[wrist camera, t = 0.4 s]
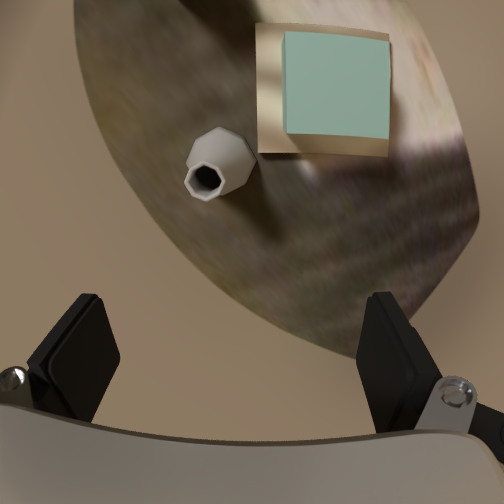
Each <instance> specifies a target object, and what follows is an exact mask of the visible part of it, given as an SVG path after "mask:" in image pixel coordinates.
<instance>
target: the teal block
mask: <svg viewBox="0 0 504 504" xmlns="http://www.w3.org/2000/svg"><path fill="white" fill-rule="evenodd" d="M281 59H282V129H283V130H284V131H285V132H286V133H291V134H325V135H344V136H359V137H372V138H383V139H389V113H390V60H389V42H387V41H381V40H375V39H368V38H361V37H354V36H346V35H336V34H325V33H311V32H290V31H285V33H284V37H283V40H282V43H281Z"/></svg>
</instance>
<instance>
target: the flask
mask: <svg viewBox="0 0 504 504" xmlns="http://www.w3.org/2000/svg"><path fill="white" fill-rule="evenodd" d="M256 161H257V160H256V158H255V156H254V154H253V153H252V151H251V149H250V147H249V145H248V144H247V142H246V140H245V138H244V137H242V136H240V135H238V134H236V133H233V132H231V131H229V130H226V129H224V128H222V127H217V128H215V129H213V130H211V131H210V132H208V133H206V134H204V135H203V136H201V137H199V138H197V139H196V140H195V142H194V145H193V147H192V149H191V152H190V154H189V157H188V159H187V161H186V165H187V166H188V168H189V172H188V174H187V176H186V179H185V181H184V184H185V185H186V187H187V189H188V190H189V192H190V194H191V195H192V196H193V197H195V198H197V199H200V200H202V201H204V202H208V201H210V200H212V199H214V198H216V197H217V196H219V195H222V196H223V195H225V194H227V193H229V192H231V191H233V190H235V189H237V188H239V187H240V186H242V185H244V184H246V182H247V180H248V178H249V176H250V173H251V171H252V169H253V167H254V165H255V163H256Z"/></svg>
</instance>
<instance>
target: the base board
mask: <svg viewBox="0 0 504 504" xmlns="http://www.w3.org/2000/svg"><path fill="white" fill-rule="evenodd" d="M255 30H256V73H257V123H258V153H321V154H345V155H363V156H377V157H388V150H389V139H383V138H372V137H359V136H344V135H325V134H291V133H286V132H285V131H284V130H283V129H282V59H281V43H282V40H283V37H284V33H285V31H290V32H311V33H325V34H336V35H346V36H354V37H361V38H368V39H375V40H381V41H387V42H389V34H387V33H381V32H375V31H369V30H362V29H355V28H347V27H339V26H328V25H316V24H299V23H255ZM389 60H390V43H389ZM390 91H391V82H390ZM389 131H390V113H389Z"/></svg>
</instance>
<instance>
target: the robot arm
mask: <svg viewBox="0 0 504 504" xmlns="http://www.w3.org/2000/svg"><path fill="white" fill-rule="evenodd" d="M119 362H120V353H119V351H118V347H117V345H116V342H115V339H114V336H113V333H112V330H111V327H110V323H109V320H108V317H107V314H106V311H105V307H104V304H103V301H102V299H101V298H99V297H98V295H96V294H86V293H83V294H81V295H80V296H79V297H78V298H77V299H76V301H75V302H74V303H73V304H72V305H71V307H70V308H69V309H68V310H67V311H66V313H65V314H64V315H63V316H62V317H61V319H60V320H59V321H58V322H57V324H56V325H55V326H54V327H53V328H52V330H51V331H50V332H49V333H48V335H47V336H46V337H45V338H44V340H43V341H42V342H41V344H40V345H39V346H38V348H37V349H36V350H35V351H34V353H33V354H32V355H31V357H30V358H29V359H28V361H27V364H28V366H29V369H28V371H26V369H24V368H23V367H20V366H13V367H10V368H7V369H5V370H4V371H2V372H1V373H0V504H504V413H501V412H499V411H497V410H494V409H492V408H490V407H487V406H485V405H482V404H480V403H478V402H477V392H476V389H475V387H474V386H473V385H472V384H471V383H470V382H469V381H468V380H466V379H464V378H462V377H458V376H447V377H442V375H441V373H440V371H439V369H438V368H437V366H436V364H435V362H434V360H433V358H432V357H431V355H430V353H429V351H428V350H427V348H426V346H425V345H424V343H423V341H422V339H421V337H420V336H419V334H418V332H417V331H416V329H415V328H414V327H412V326H411V325H410V323H409V321H408V319H407V318H406V316H405V315H404V313H403V311H402V310H401V308H400V306H399V305H398V303H397V301H396V300H395V298H394V297H393V295H392V293H391V292H374V293H373V295H372V297H368V299H367V304H366V309H365V315H364V321H363V326H362V331H361V336H360V341H359V346H358V351H357V355H356V364H357V368H358V371H359V375H360V378H361V381H362V385H363V388H364V391H365V395H366V398H367V401H368V405H369V408H370V412H371V415H372V419H373V422H374V426H375V430H376V433H377V434H369V435H361V436H352V437H341V438H330V439H316V440H298V441H225V440H207V439H193V438H183V437H173V436H164V435H156V434H149V433H142V432H136V431H129V430H123V429H118V428H112V427H107V426H102V425H97V424H92V423H91V422H92V420H93V417H94V415H95V413H96V411H97V408H98V406H99V404H100V402H101V400H102V398H103V396H104V394H105V391H106V389H107V387H108V385H109V383H110V381H111V379H112V377H113V375H114V373H115V371H116V369H117V367H118V365H119Z"/></svg>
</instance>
